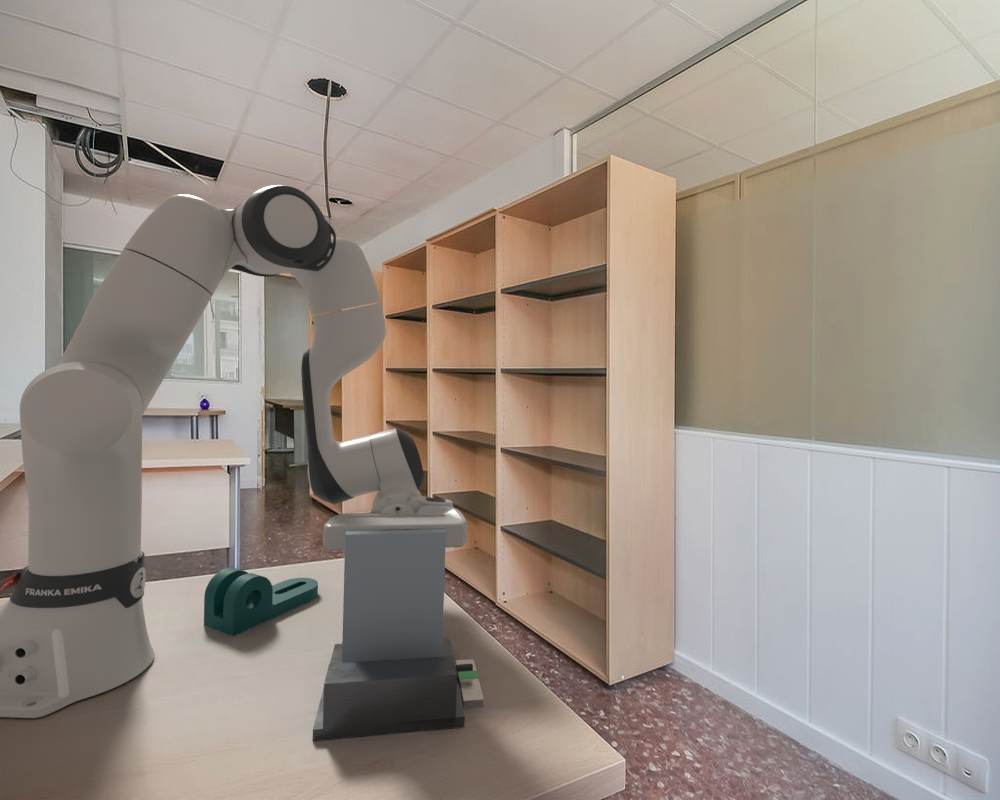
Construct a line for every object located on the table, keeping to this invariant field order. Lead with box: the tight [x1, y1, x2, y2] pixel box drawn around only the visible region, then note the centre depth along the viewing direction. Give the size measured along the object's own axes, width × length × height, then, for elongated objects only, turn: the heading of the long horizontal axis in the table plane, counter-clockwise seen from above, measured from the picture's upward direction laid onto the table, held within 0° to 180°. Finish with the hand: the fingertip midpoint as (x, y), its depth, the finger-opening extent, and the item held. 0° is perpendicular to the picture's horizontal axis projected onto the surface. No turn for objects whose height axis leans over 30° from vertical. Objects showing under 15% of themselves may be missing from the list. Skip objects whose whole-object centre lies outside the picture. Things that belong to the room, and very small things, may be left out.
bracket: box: [203, 567, 319, 637], centre depth 85 cm, size 18×7×8 cm, turn 153°
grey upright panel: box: [341, 529, 473, 672], centre depth 64 cm, size 16×2×18 cm, turn 101°
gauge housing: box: [312, 637, 485, 742], centre depth 65 cm, size 19×18×6 cm
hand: (396, 547), depth 68 cm, fingers closed
